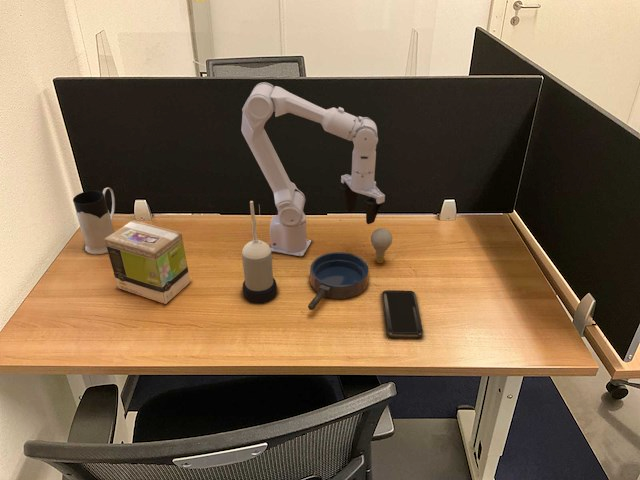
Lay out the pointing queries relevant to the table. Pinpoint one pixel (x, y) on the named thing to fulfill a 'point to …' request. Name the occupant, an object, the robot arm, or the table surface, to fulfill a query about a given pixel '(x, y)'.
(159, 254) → the tea box
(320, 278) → the pan
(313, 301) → the pan handle
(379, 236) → the light bulb
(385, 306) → the phone
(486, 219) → the table surface
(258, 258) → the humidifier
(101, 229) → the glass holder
